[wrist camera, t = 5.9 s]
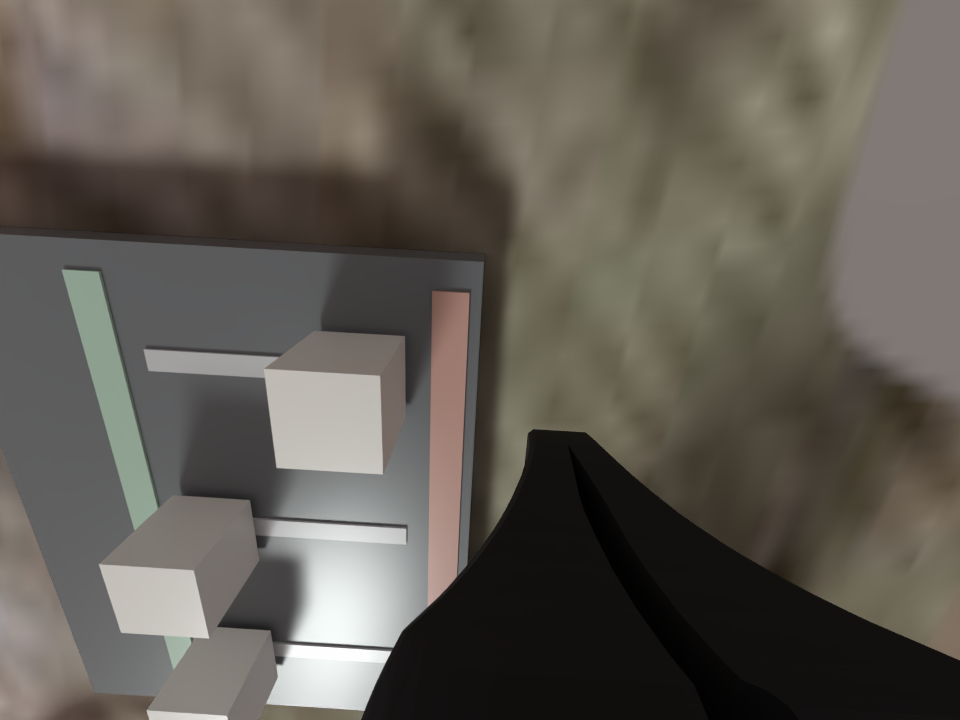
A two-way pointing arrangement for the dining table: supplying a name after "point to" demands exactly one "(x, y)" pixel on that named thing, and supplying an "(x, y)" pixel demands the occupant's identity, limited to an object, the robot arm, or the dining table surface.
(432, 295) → the panel
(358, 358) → the block
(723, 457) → the dining table surface
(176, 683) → the block
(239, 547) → the block
